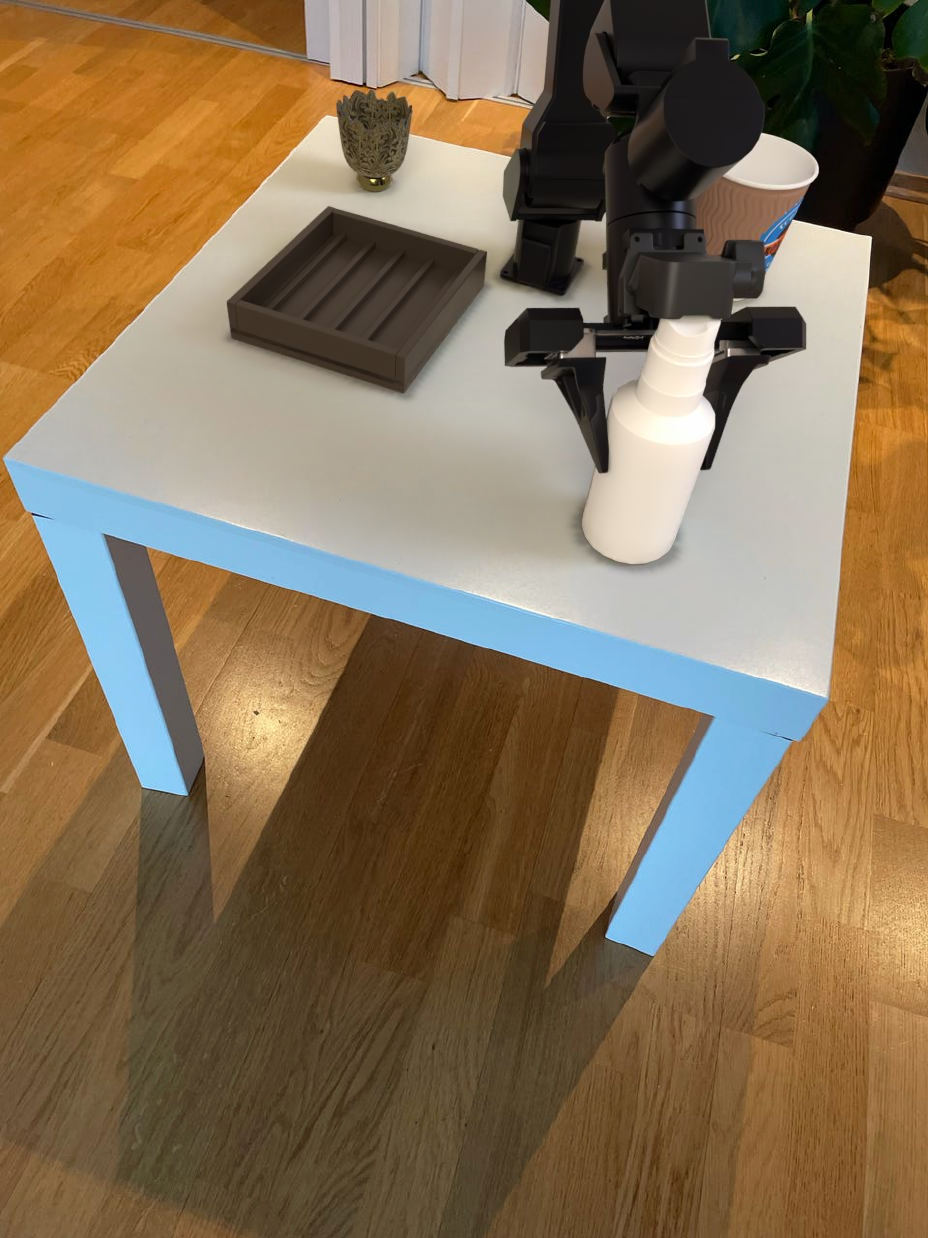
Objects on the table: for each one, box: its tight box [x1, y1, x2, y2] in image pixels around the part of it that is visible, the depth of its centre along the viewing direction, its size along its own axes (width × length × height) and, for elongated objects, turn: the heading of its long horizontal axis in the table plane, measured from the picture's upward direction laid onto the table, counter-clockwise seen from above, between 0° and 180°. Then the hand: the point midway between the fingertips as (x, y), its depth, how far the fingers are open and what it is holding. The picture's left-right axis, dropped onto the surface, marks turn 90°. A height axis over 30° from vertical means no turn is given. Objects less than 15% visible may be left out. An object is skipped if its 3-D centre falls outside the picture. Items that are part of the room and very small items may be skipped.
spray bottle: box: [581, 315, 721, 565], centre depth 62 cm, size 7×7×18 cm
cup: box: [335, 89, 413, 192], centre depth 95 cm, size 8×7×8 cm
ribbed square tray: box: [226, 205, 488, 394], centre depth 82 cm, size 18×16×4 cm
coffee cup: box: [696, 132, 820, 302], centre depth 87 cm, size 10×10×12 cm
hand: (654, 471), depth 62 cm, fingers closed on spray bottle, 7 cm apart
